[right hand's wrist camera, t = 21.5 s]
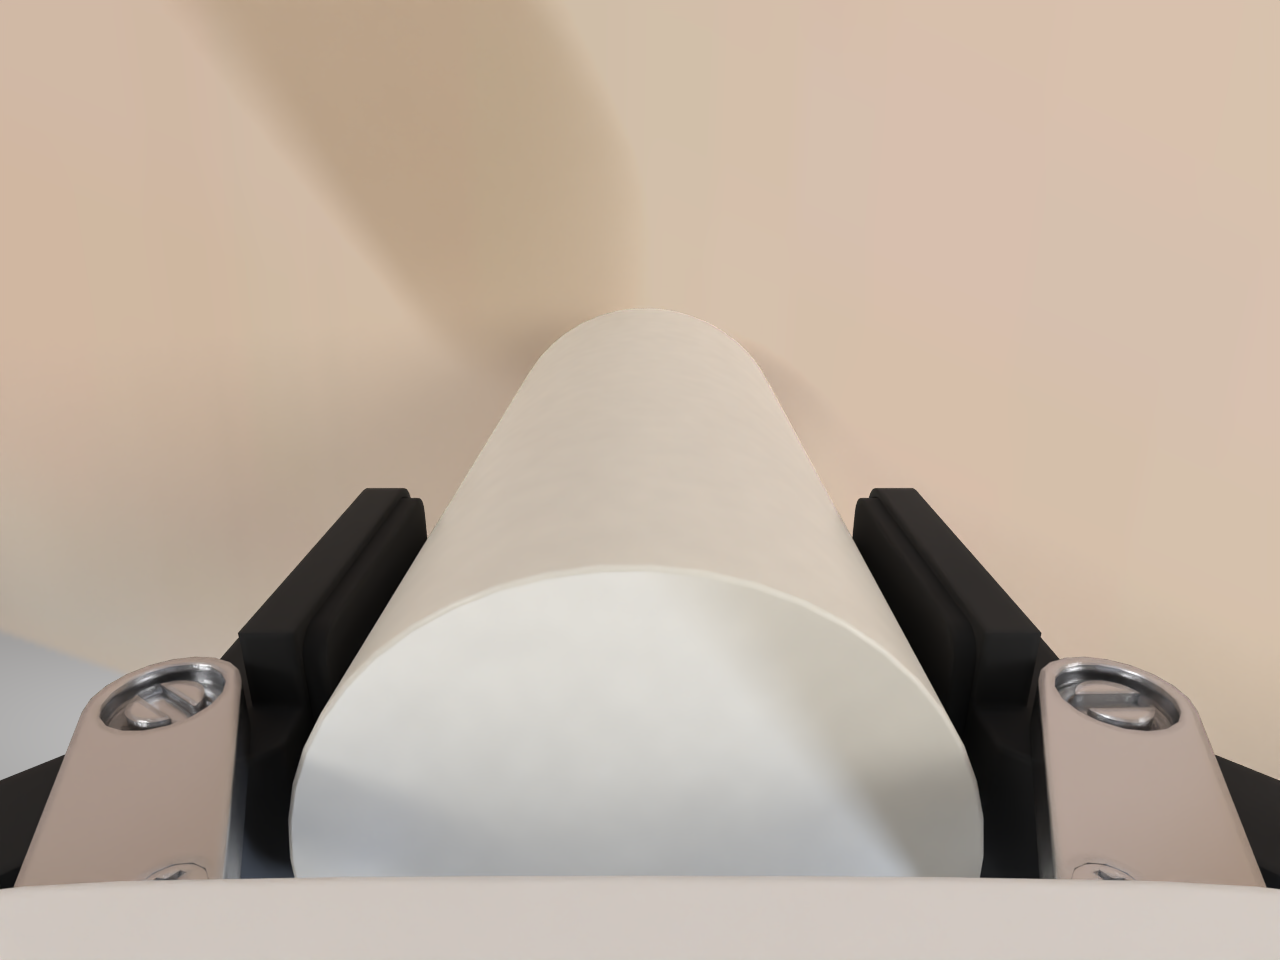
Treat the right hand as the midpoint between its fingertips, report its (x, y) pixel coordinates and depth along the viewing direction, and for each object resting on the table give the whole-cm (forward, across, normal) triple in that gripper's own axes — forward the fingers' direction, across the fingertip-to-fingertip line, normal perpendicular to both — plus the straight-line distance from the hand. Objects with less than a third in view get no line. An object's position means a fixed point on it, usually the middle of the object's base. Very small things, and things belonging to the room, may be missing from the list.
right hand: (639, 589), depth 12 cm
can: (+7, 0, 0) cm, 7 cm away
